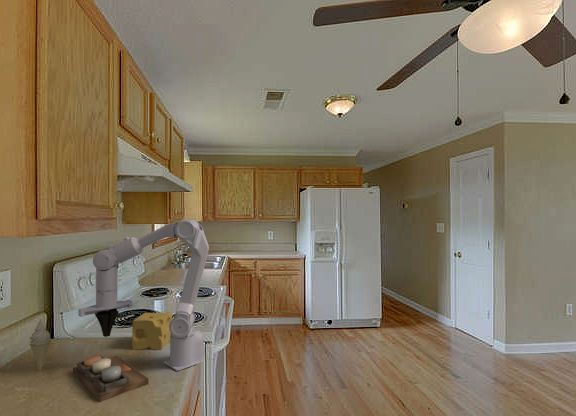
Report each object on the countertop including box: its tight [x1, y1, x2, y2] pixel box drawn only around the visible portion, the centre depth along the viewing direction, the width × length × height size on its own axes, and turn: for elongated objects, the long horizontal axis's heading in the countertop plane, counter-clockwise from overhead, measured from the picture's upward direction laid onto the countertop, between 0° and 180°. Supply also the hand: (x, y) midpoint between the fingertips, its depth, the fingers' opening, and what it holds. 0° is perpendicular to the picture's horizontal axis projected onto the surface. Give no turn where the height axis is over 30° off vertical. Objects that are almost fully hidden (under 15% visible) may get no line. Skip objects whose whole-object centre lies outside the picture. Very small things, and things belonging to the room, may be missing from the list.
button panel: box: [72, 355, 149, 402], centre depth 98 cm, size 12×22×3 cm, turn 46°
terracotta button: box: [83, 355, 103, 368], centre depth 101 cm, size 4×4×2 cm
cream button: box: [92, 358, 111, 373], centre depth 97 cm, size 4×4×2 cm
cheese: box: [131, 311, 173, 351], centre depth 124 cm, size 10×11×10 cm
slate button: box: [102, 366, 121, 381], centre depth 92 cm, size 4×4×2 cm
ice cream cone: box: [29, 318, 52, 372], centre depth 103 cm, size 5×5×15 cm
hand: (106, 335), depth 105 cm, fingers closed
